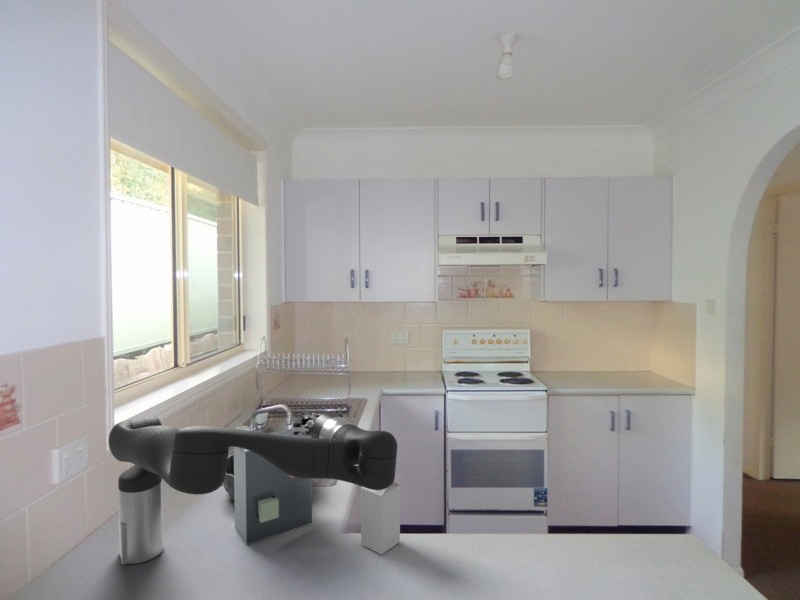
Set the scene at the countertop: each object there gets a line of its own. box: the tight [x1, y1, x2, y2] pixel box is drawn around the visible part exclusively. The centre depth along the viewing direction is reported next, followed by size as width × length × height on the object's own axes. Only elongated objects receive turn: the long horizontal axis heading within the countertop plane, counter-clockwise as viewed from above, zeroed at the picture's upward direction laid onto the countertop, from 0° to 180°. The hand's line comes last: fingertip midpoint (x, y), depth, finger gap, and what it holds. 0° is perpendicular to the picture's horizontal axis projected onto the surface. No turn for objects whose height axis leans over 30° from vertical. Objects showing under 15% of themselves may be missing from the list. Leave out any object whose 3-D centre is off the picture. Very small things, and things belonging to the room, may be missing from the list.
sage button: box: [257, 496, 279, 523], centre depth 123 cm, size 5×9×5 cm, turn 35°
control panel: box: [233, 428, 313, 545], centre depth 128 cm, size 18×10×24 cm, turn 126°
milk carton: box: [360, 480, 401, 555], centre depth 120 cm, size 7×7×19 cm
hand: (302, 414), depth 116 cm, fingers closed
